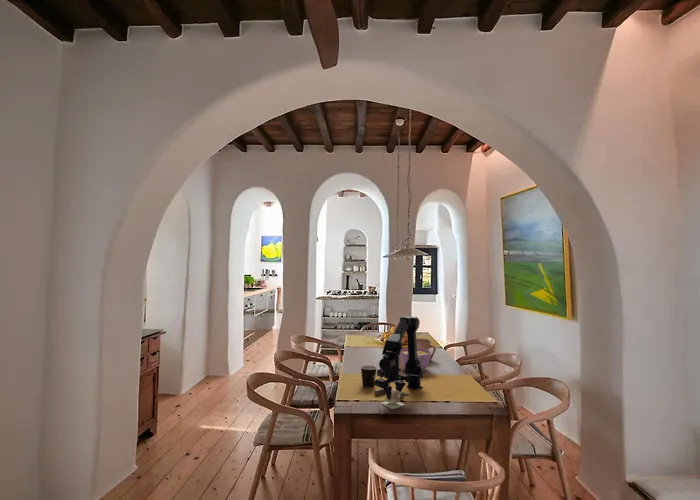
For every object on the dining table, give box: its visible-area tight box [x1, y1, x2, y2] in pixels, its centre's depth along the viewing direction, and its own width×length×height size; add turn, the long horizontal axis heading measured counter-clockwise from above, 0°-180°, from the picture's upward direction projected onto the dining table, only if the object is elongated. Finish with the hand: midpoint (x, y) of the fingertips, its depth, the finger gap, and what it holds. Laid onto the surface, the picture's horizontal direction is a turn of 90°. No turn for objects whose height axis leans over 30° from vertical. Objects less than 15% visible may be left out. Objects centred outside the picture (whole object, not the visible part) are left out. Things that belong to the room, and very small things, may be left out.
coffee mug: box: [360, 364, 377, 389], centre depth 216 cm, size 12×9×10 cm
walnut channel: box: [373, 388, 404, 399], centre depth 199 cm, size 10×11×2 cm
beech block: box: [385, 387, 401, 404], centre depth 187 cm, size 5×5×5 cm
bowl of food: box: [399, 347, 432, 371], centre depth 248 cm, size 20×20×12 cm
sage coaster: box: [380, 400, 406, 410], centre depth 187 cm, size 8×8×1 cm
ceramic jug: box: [416, 337, 437, 362], centre depth 271 cm, size 18×14×14 cm
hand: (392, 398), depth 187 cm, fingers closed on beech block, 5 cm apart
